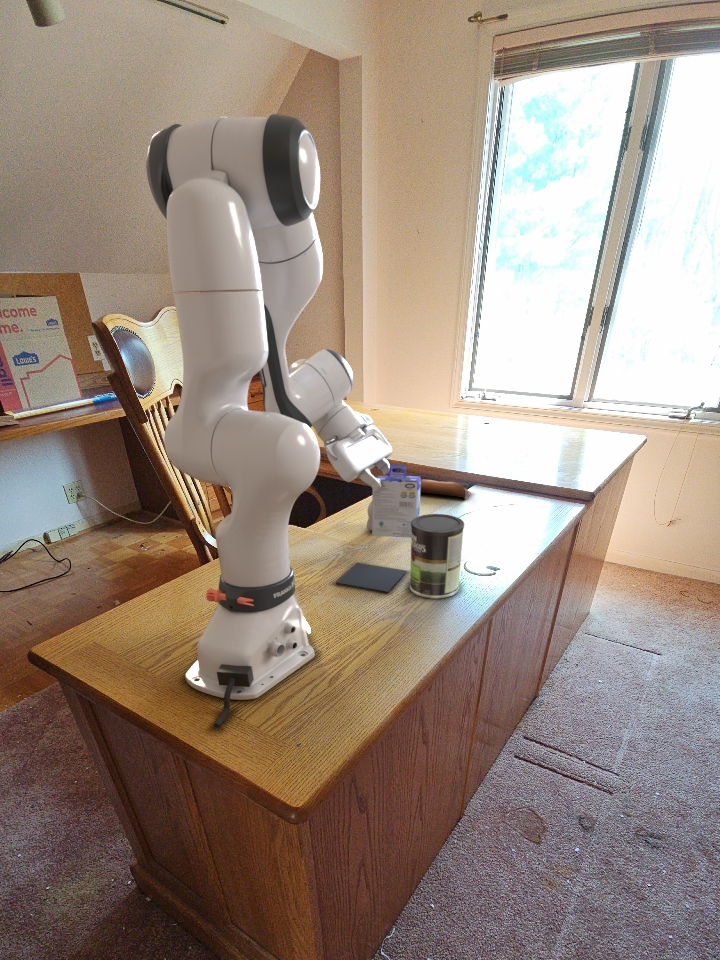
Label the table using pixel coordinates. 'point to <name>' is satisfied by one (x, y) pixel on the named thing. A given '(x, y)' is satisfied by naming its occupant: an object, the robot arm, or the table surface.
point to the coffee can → (435, 555)
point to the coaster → (371, 577)
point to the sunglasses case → (444, 488)
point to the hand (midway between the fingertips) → (386, 483)
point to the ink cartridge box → (395, 503)
